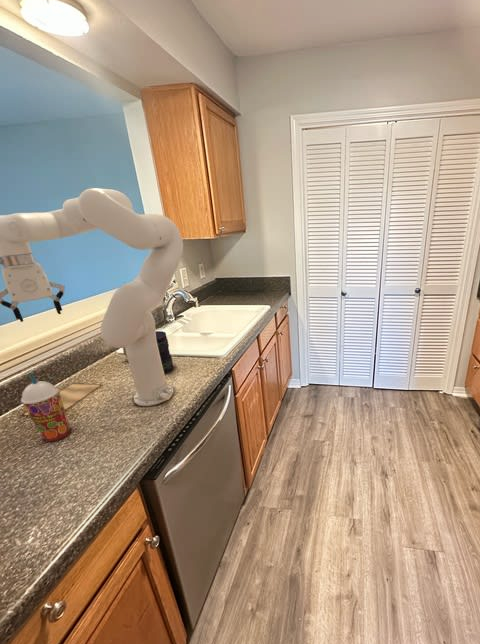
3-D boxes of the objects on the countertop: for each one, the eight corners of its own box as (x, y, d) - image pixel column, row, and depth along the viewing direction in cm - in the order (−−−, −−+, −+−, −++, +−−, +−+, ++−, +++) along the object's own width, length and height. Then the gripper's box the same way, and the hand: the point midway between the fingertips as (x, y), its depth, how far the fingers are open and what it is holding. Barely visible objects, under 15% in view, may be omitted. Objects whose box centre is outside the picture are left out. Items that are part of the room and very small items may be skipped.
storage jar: (177, 364, 134) (169, 330, 128) (169, 375, 125) (160, 339, 119) (153, 365, 134) (144, 331, 128) (143, 376, 125) (133, 341, 119)
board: (72, 384, 122) (72, 383, 122) (100, 385, 120) (100, 385, 120) (23, 415, 104) (23, 414, 104) (55, 417, 102) (55, 416, 102)
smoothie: (37, 448, 88) (6, 384, 80) (42, 432, 95) (15, 371, 87) (72, 438, 92) (47, 376, 84) (76, 423, 99) (52, 364, 91)
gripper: (-21, 266, 87) (6, 326, 94) (55, 257, 97) (75, 312, 104) (-21, 264, 92) (5, 321, 99) (52, 256, 102) (71, 308, 109)
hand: (41, 317), depth 101 cm, fingers open, 9 cm apart
